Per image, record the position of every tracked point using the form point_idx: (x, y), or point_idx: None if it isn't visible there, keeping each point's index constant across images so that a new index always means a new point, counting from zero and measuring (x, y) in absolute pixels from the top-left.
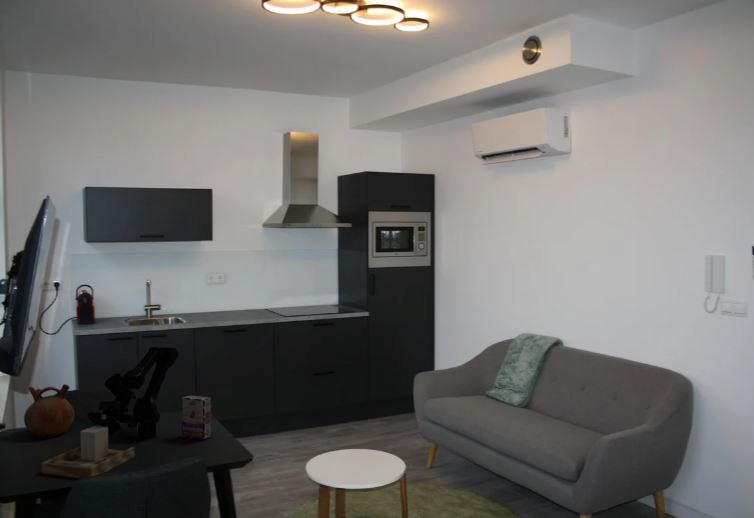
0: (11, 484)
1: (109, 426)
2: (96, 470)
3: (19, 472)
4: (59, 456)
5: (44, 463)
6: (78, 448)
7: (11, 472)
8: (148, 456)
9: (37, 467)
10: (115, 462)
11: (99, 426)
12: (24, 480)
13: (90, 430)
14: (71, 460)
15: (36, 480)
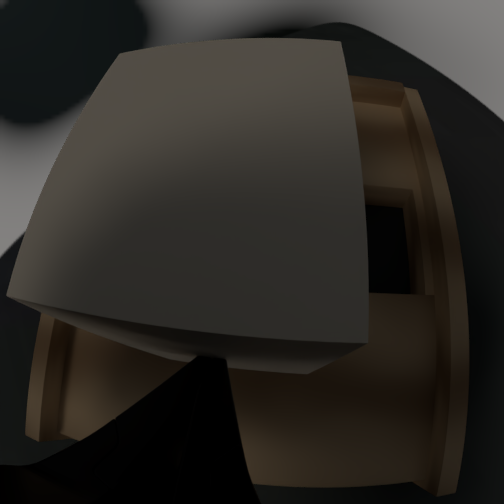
0: (397, 52)
1: (67, 469)
2: None
3: (480, 126)
4: (427, 166)
5: (399, 83)
6: (449, 354)
7: (499, 126)
8: (12, 432)
9: (480, 176)
10: None
11: (182, 323)
12: (393, 71)
13: (224, 79)
14: (412, 281)
15: (354, 72)
